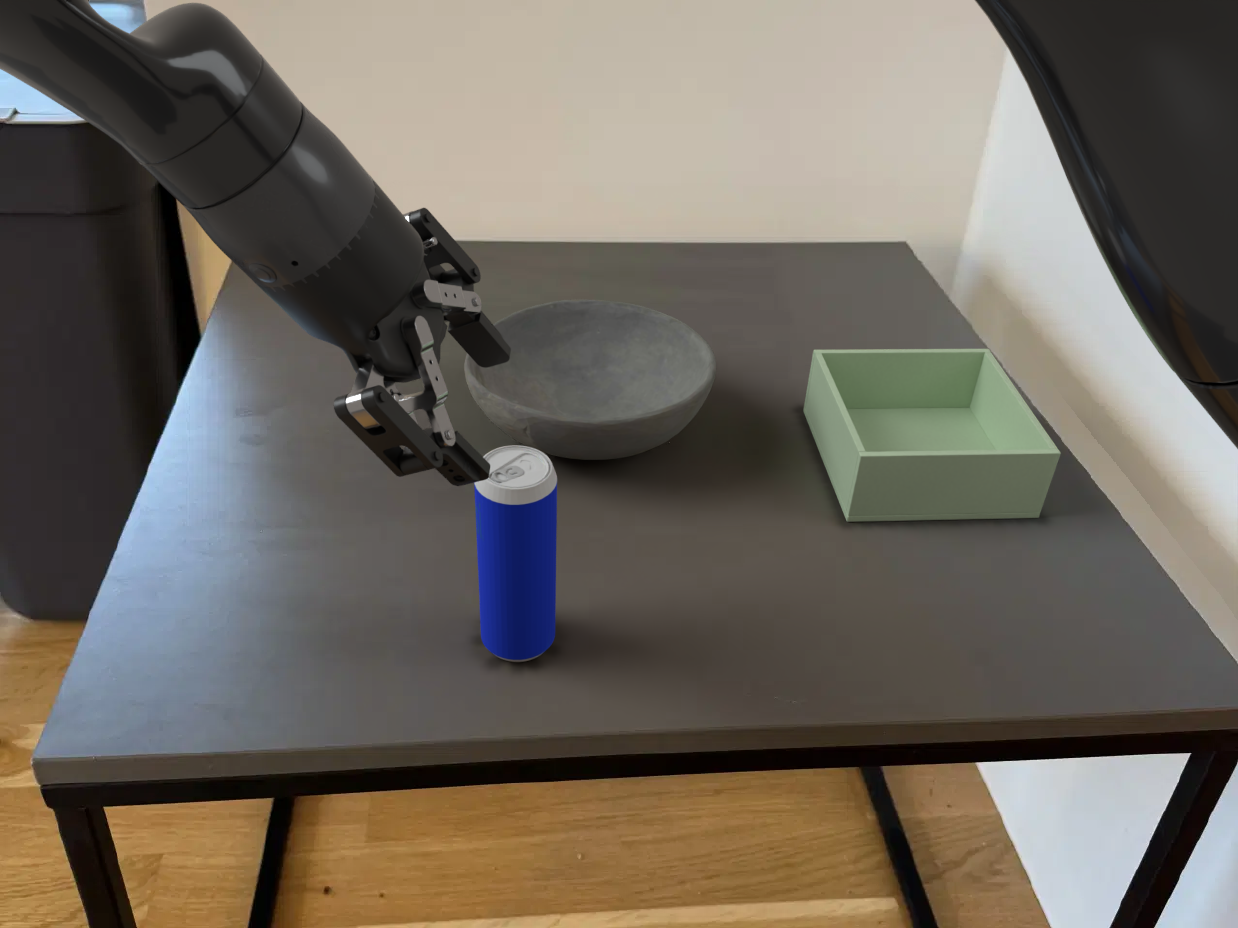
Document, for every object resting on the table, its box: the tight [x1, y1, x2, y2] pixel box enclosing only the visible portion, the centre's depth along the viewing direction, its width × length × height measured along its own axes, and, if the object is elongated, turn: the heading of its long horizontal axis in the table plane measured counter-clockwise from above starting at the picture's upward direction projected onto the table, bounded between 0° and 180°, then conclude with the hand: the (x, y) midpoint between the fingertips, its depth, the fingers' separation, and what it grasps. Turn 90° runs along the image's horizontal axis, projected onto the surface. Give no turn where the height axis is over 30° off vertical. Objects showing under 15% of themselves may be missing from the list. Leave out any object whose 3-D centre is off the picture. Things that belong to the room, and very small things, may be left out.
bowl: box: [463, 299, 717, 461], centre depth 96 cm, size 21×21×8 cm
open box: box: [802, 348, 1062, 523], centre depth 95 cm, size 16×16×7 cm
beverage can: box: [473, 444, 558, 663], centre depth 73 cm, size 5×5×15 cm
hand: (487, 416), depth 64 cm, fingers open, 8 cm apart
